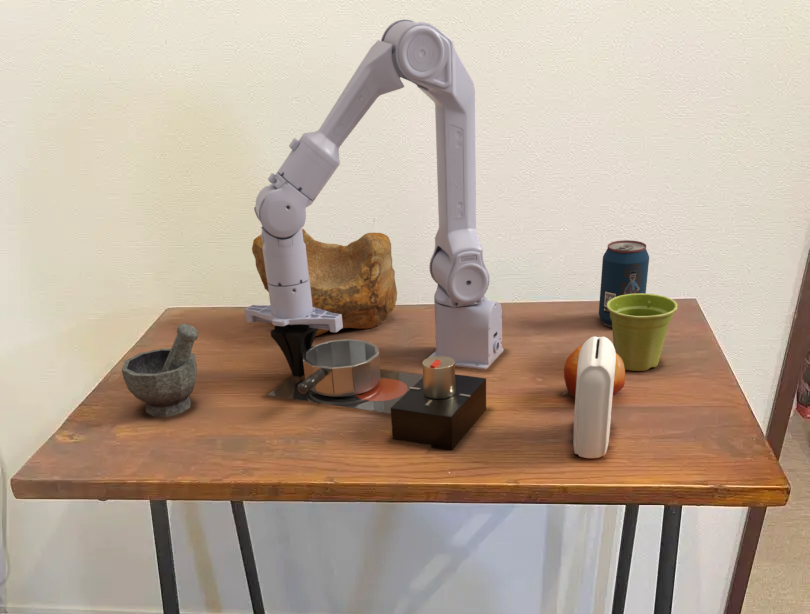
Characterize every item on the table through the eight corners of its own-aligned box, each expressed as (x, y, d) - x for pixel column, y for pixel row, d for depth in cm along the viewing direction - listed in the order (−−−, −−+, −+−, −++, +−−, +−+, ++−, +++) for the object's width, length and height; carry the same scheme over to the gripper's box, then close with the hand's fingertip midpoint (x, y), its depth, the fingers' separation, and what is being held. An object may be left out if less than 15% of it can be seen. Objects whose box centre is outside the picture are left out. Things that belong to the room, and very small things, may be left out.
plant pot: (672, 377, 120) (679, 316, 115) (601, 375, 122) (606, 315, 117) (668, 352, 128) (675, 293, 123) (603, 350, 129) (607, 292, 125)
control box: (429, 401, 118) (428, 369, 115) (487, 410, 115) (487, 376, 112) (391, 440, 109) (389, 406, 106) (452, 450, 106) (451, 415, 103)
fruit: (574, 366, 121) (603, 325, 115) (613, 406, 119) (644, 367, 113) (538, 385, 117) (566, 343, 110) (578, 427, 115) (608, 387, 108)
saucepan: (329, 366, 129) (326, 335, 127) (393, 374, 125) (391, 343, 123) (270, 412, 117) (265, 379, 114) (338, 423, 113) (335, 389, 111)
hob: (267, 396, 122) (267, 394, 122) (313, 362, 132) (313, 360, 132) (403, 417, 114) (403, 415, 114) (441, 379, 124) (441, 377, 124)
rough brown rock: (242, 351, 139) (228, 259, 130) (267, 307, 152) (255, 221, 143) (387, 355, 137) (382, 261, 127) (399, 310, 150) (396, 222, 140)
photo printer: (575, 420, 111) (581, 326, 104) (610, 422, 110) (618, 327, 103) (570, 459, 102) (575, 359, 96) (607, 461, 102) (615, 360, 95)
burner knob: (431, 384, 111) (429, 352, 109) (460, 387, 110) (459, 355, 108) (418, 396, 108) (416, 363, 106) (448, 400, 107) (447, 367, 105)
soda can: (615, 311, 143) (621, 236, 136) (651, 320, 139) (659, 243, 132) (589, 323, 139) (594, 246, 133) (625, 333, 135) (632, 254, 128)
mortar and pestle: (121, 422, 118) (99, 337, 111) (149, 393, 125) (130, 312, 119) (199, 425, 116) (182, 338, 109) (223, 395, 123) (208, 312, 117)
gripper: (227, 284, 118) (242, 378, 125) (320, 293, 112) (331, 391, 120) (255, 269, 123) (268, 360, 131) (346, 277, 118) (354, 371, 125)
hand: (300, 374), depth 126 cm, fingers closed
